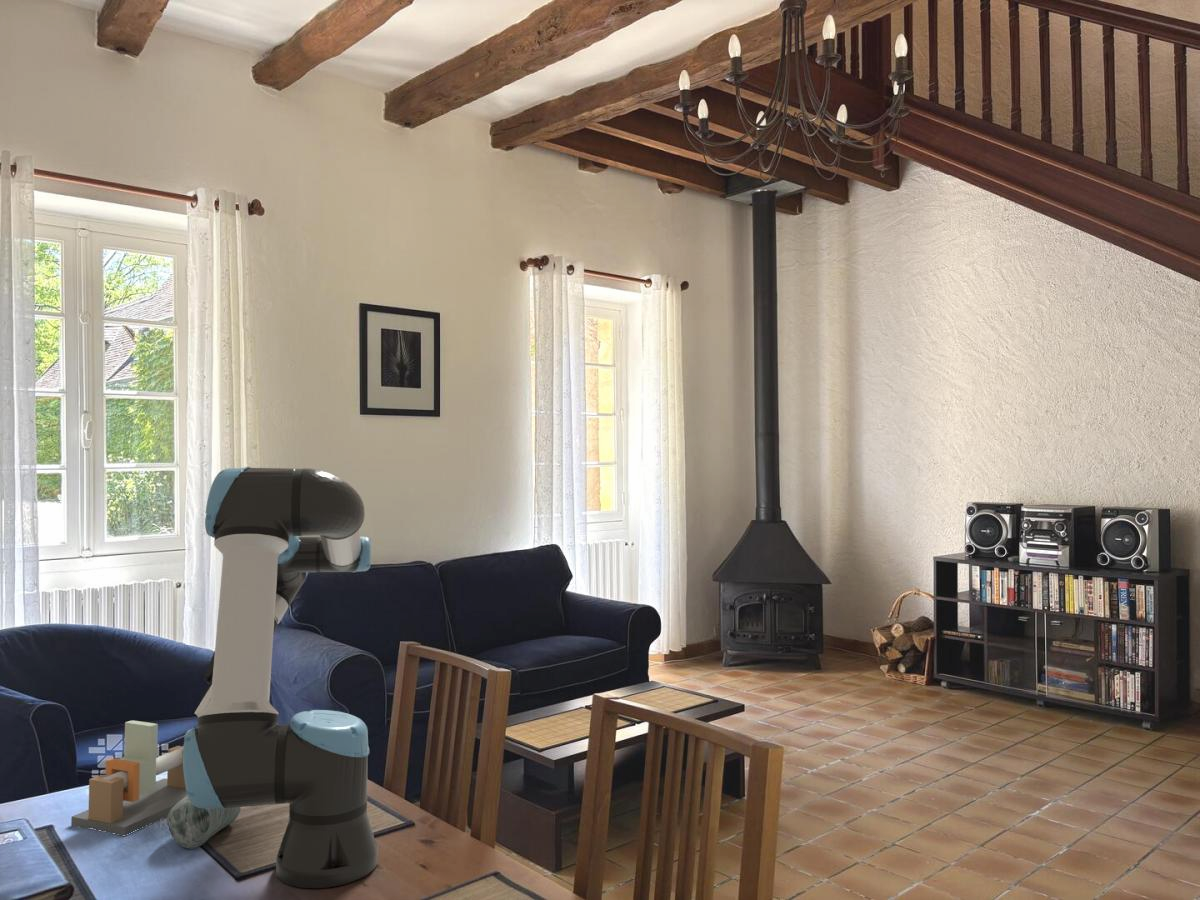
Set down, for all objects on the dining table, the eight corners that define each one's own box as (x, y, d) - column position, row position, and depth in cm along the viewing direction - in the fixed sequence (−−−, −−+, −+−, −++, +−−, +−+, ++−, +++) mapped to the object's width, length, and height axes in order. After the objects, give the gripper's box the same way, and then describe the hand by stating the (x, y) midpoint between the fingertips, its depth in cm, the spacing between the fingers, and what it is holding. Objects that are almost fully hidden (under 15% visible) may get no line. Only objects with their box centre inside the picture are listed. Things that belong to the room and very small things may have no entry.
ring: (138, 799, 155) (139, 762, 155) (133, 802, 154) (134, 764, 154) (110, 794, 157) (111, 758, 157) (105, 796, 156) (105, 760, 156)
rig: (213, 794, 168) (214, 748, 168) (124, 836, 149) (126, 784, 149) (163, 786, 172) (164, 741, 172) (71, 825, 153) (72, 775, 153)
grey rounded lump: (209, 838, 141) (195, 776, 145) (159, 861, 142) (146, 799, 146) (261, 826, 154) (247, 769, 157) (215, 848, 155) (202, 791, 159)
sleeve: (156, 789, 159) (157, 723, 159) (138, 797, 155) (139, 730, 155) (130, 784, 161) (132, 720, 161) (111, 792, 157) (113, 726, 157)
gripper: (295, 629, 189) (237, 730, 173) (245, 624, 193) (184, 723, 177) (279, 608, 184) (218, 710, 168) (228, 603, 188) (164, 703, 173)
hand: (201, 717), depth 173 cm, fingers closed
